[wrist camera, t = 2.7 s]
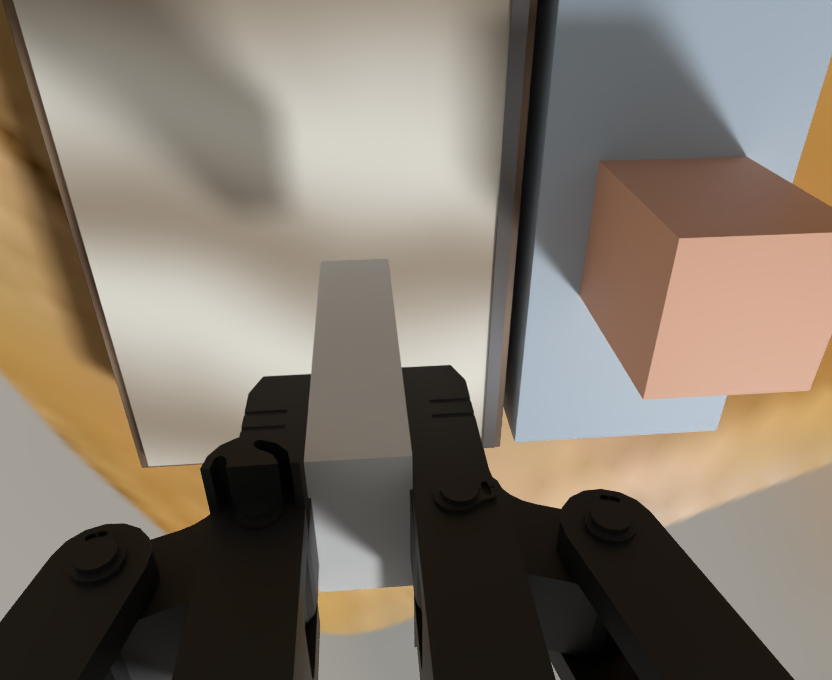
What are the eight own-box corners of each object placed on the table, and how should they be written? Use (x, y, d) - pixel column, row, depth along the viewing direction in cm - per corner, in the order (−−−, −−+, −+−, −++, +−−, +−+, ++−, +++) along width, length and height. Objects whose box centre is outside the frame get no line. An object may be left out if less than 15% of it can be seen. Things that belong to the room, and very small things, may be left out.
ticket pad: (30, -112, 16) (-45, -119, 13) (516, -112, 17) (553, -119, 14) (164, 408, 25) (138, 478, 22) (483, 391, 26) (502, 456, 23)
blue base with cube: (531, -89, 17) (658, -94, 10) (791, -90, 18) (1086, -95, 11) (495, 383, 25) (553, 564, 18) (675, 373, 26) (799, 546, 19)
